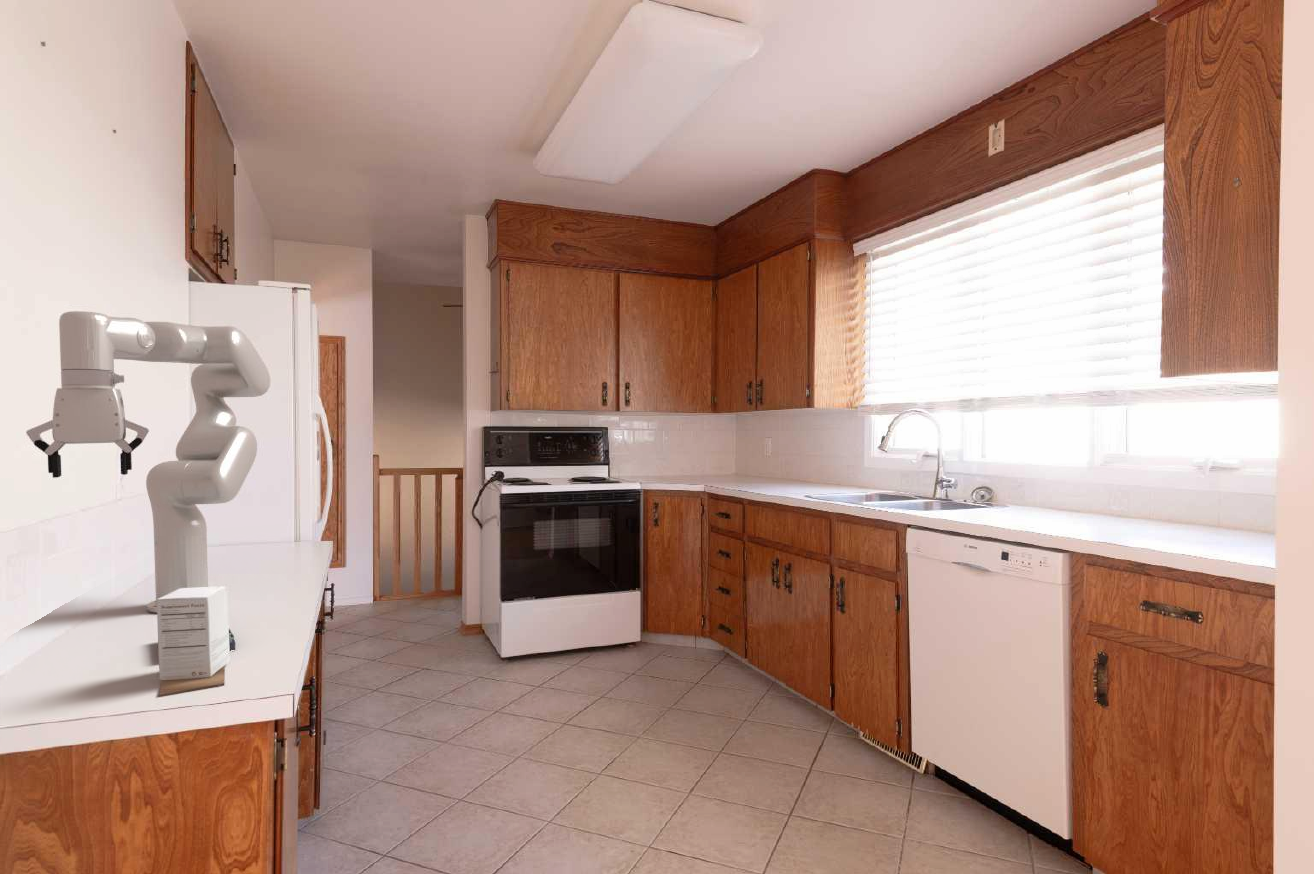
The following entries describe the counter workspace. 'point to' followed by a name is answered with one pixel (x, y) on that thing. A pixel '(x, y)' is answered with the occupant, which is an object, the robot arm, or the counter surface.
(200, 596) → the supplement box
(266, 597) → the counter surface
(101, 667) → the counter surface
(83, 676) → the counter surface
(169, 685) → the flat brown wooden pieces
